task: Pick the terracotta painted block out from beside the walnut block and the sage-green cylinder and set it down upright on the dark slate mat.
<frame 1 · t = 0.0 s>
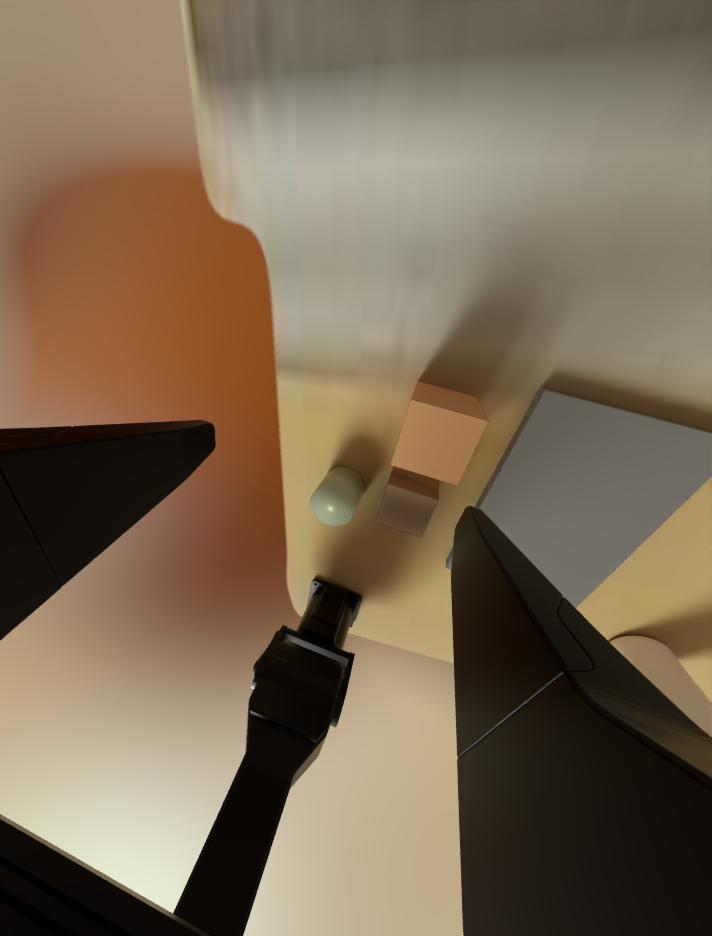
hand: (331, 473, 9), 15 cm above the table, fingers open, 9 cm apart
drinking glass: (632, 647, 28), on the table
sage cylinder: (344, 484, 27), on the table
terracotta block: (436, 416, 22), on the table
slate mat: (556, 512, 23), on the table
walnut block: (409, 486, 26), on the table
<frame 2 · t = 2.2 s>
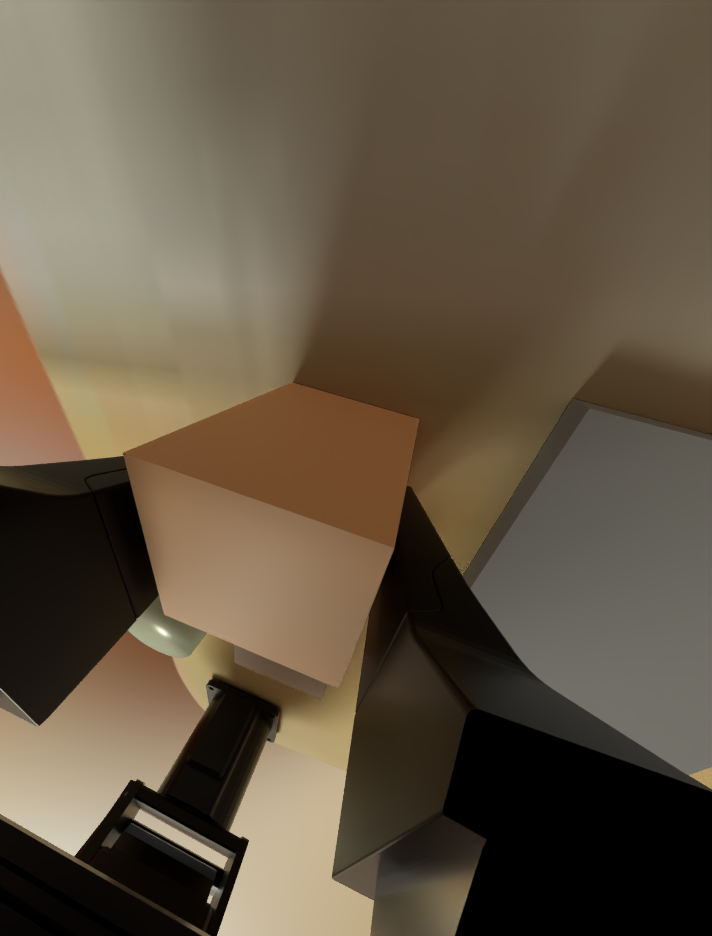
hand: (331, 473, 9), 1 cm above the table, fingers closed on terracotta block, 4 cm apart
sage cylinder: (215, 562, 16), on the table
terracotta block: (342, 457, 10), on the table, touching gripper
slate mat: (593, 648, 11), on the table
walnut block: (318, 575, 14), on the table
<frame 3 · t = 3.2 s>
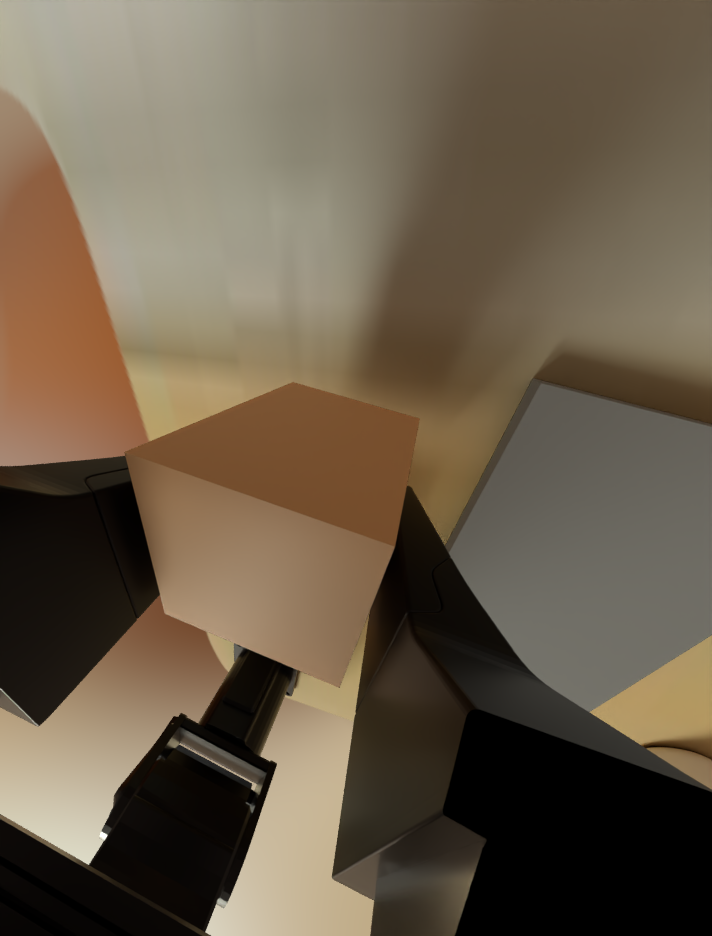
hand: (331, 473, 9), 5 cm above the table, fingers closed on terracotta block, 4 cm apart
drinking glass: (669, 759, 19), on the table
terracotta block: (342, 457, 10), point 4 cm above the table, touching gripper
slate mat: (559, 579, 15), on the table
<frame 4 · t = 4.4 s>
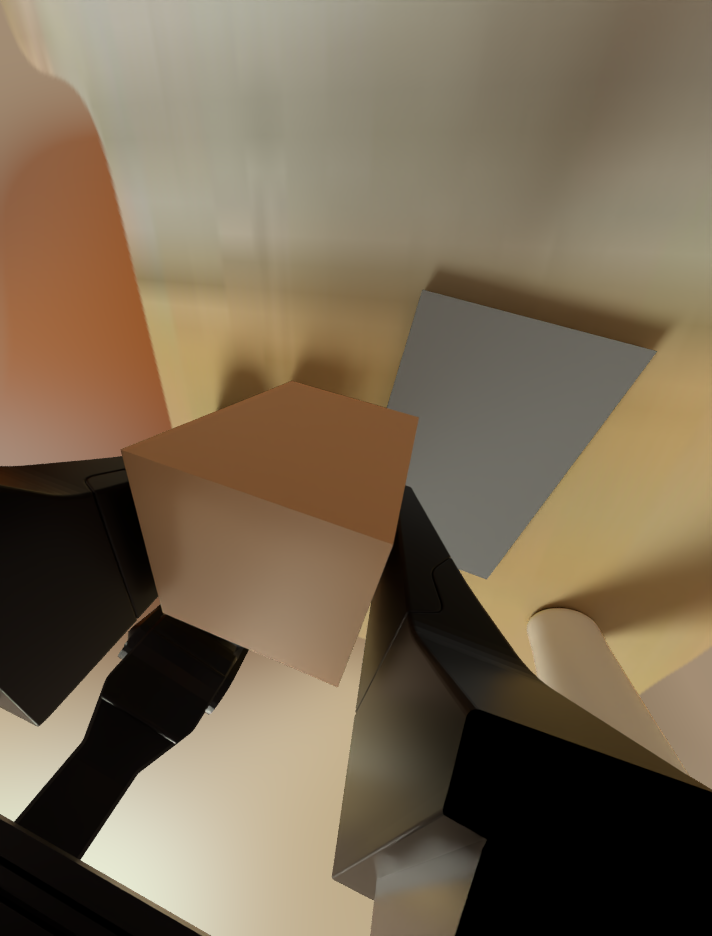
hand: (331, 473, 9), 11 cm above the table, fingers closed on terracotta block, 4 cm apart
drinking glass: (558, 623, 25), on the table
terracotta block: (341, 456, 10), point 10 cm above the table, touching gripper
slate mat: (460, 458, 20), on the table
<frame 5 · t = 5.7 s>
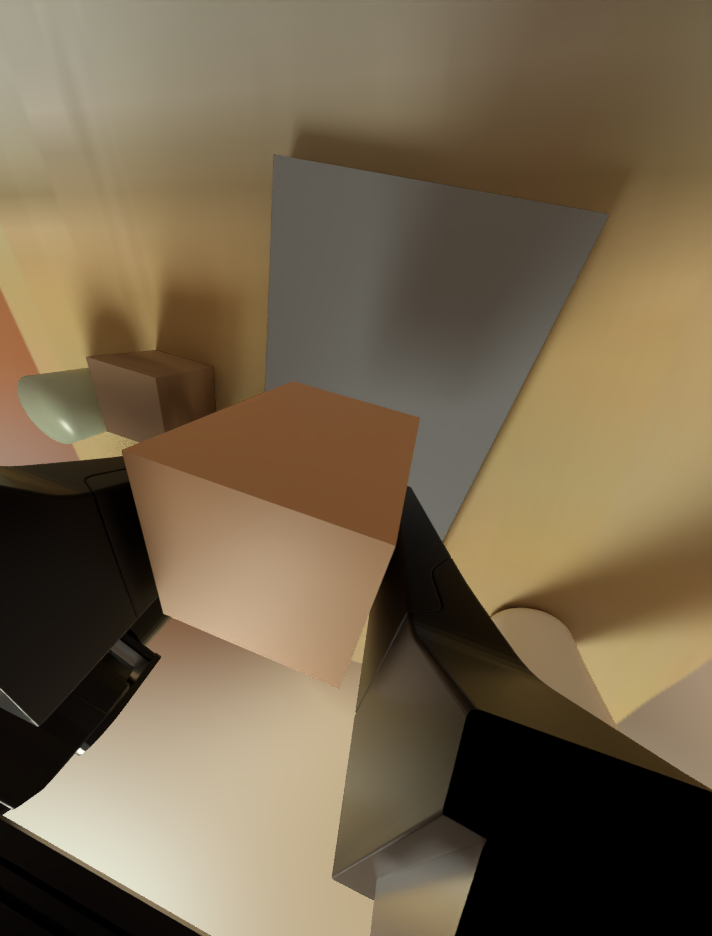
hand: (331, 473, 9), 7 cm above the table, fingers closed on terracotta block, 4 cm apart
drinking glass: (523, 626, 20), on the table
sage cylinder: (116, 395, 19), on the table
terracotta block: (342, 456, 10), point 6 cm above the table, touching gripper
slate mat: (374, 413, 15), on the table
walnut block: (188, 390, 18), on the table
when the fingers open (4 cm above the table, at t = 6.6 s): terracotta block drops 1 cm, resting on slate mat.
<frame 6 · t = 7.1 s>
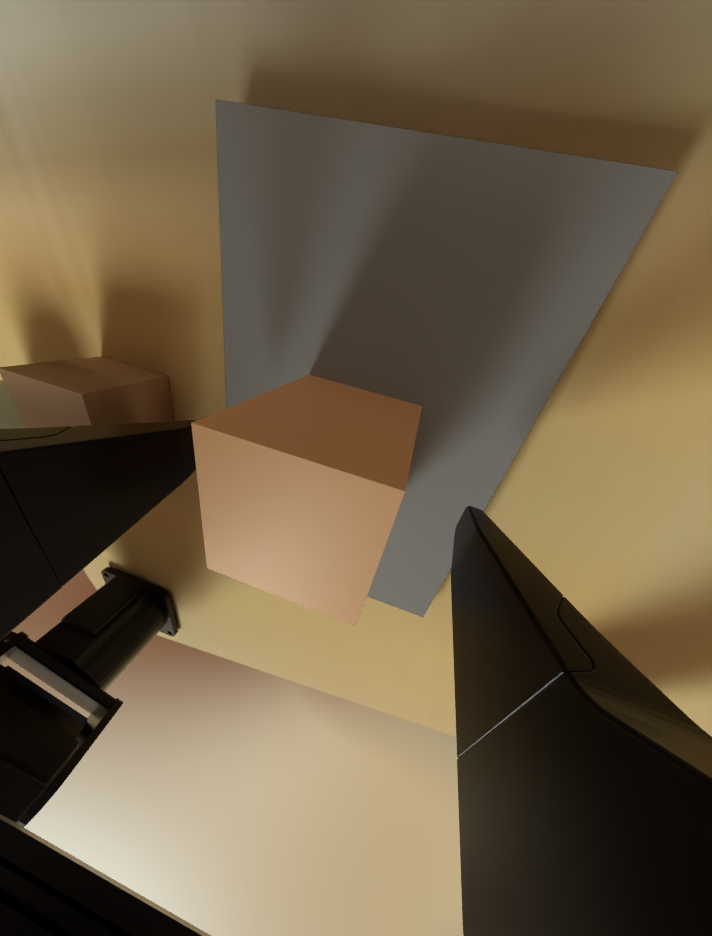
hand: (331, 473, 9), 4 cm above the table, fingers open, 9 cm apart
sage cylinder: (64, 408, 17), on the table
terracotta block: (352, 442, 12), point 1 cm above the table, touching slate mat
slate mat: (359, 434, 12), on the table
walnut block: (143, 403, 15), on the table
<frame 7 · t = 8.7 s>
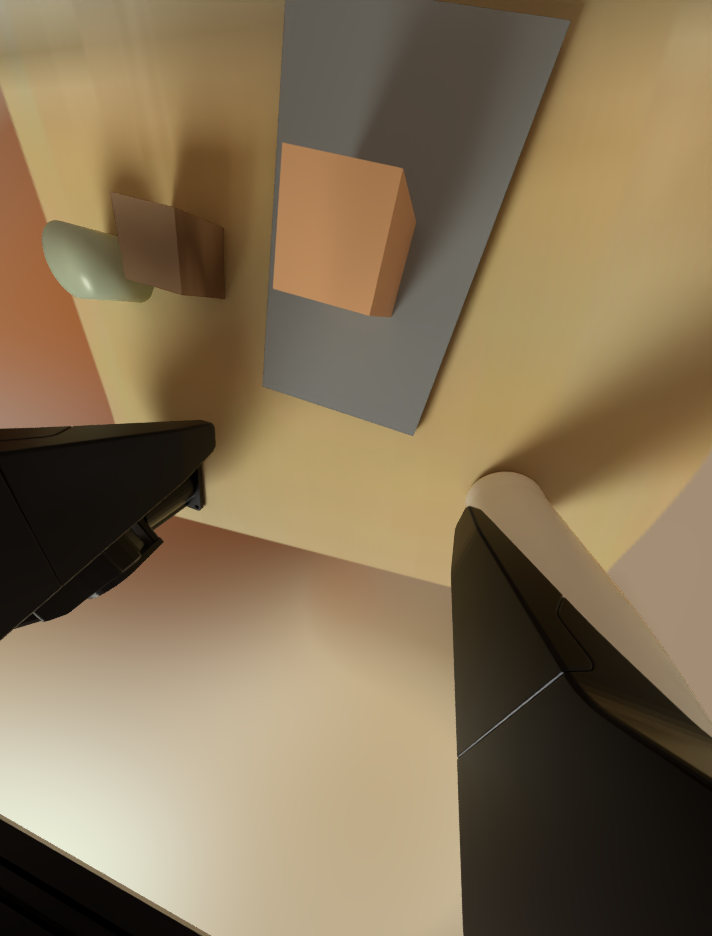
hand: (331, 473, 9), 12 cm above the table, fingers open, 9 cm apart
drinking glass: (500, 497, 21), on the table
sage cylinder: (130, 271, 21), on the table
terracotta block: (365, 263, 16), point 1 cm above the table, touching slate mat
slate mat: (369, 266, 17), on the table
walnut block: (199, 258, 19), on the table
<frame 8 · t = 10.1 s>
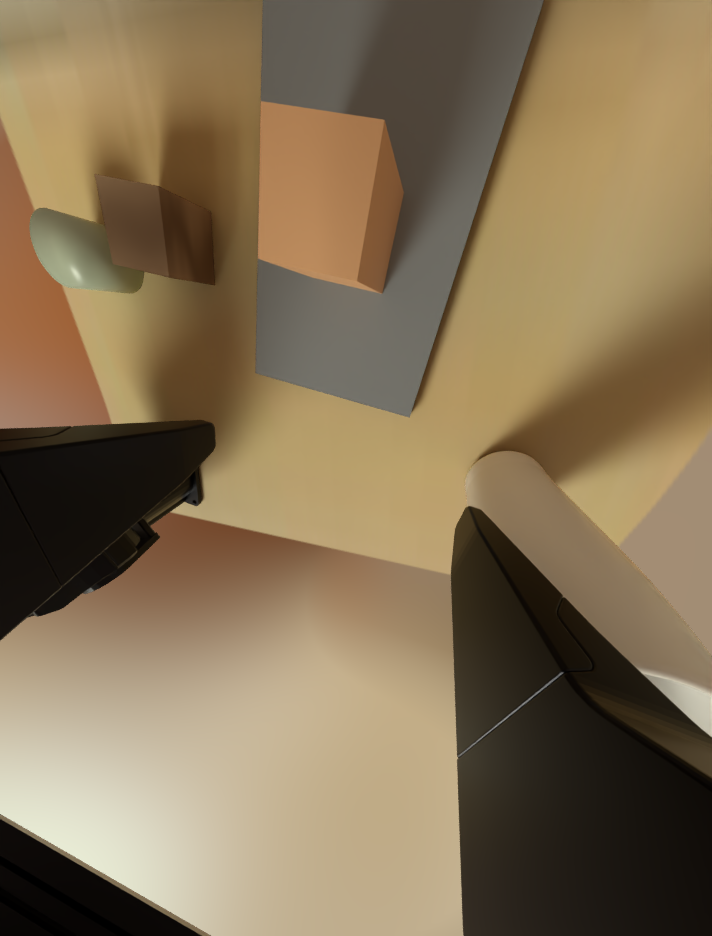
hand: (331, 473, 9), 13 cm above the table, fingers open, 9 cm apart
drinking glass: (501, 478, 21), on the table
sage cylinder: (120, 261, 21), on the table
terracotta block: (353, 238, 16), point 1 cm above the table, touching slate mat
slate mat: (358, 243, 17), on the table
walnut block: (188, 245, 19), on the table
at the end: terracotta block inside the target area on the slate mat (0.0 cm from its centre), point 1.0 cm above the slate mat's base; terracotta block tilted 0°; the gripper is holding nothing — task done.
